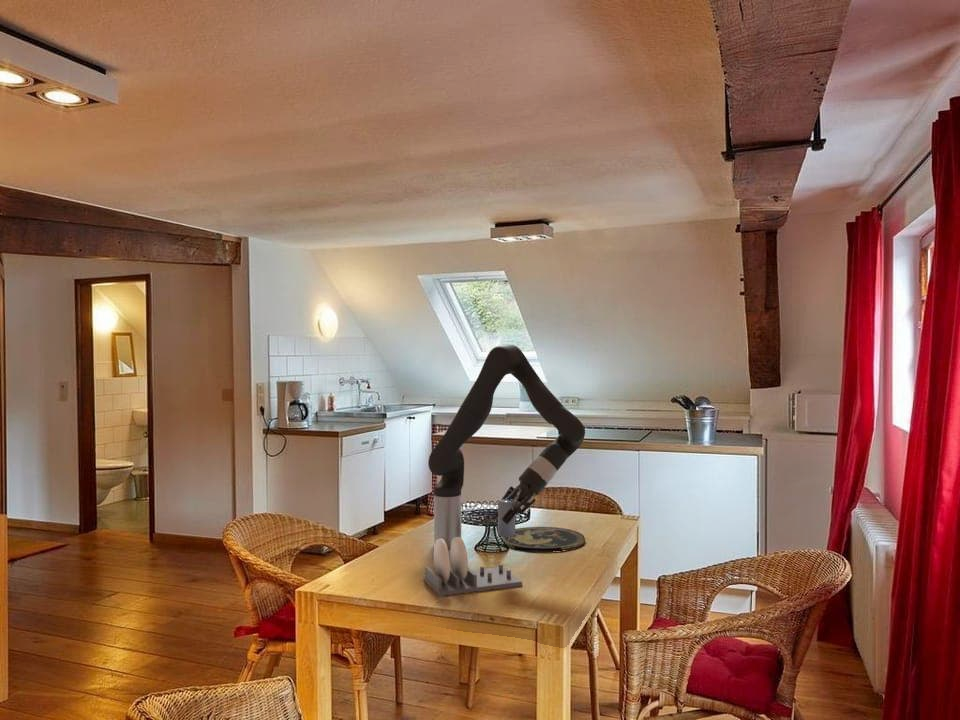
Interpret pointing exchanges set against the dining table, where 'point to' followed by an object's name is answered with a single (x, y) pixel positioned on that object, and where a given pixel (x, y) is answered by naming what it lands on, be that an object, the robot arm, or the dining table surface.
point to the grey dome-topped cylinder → (502, 510)
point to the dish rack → (463, 572)
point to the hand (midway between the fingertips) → (500, 519)
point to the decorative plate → (544, 539)
